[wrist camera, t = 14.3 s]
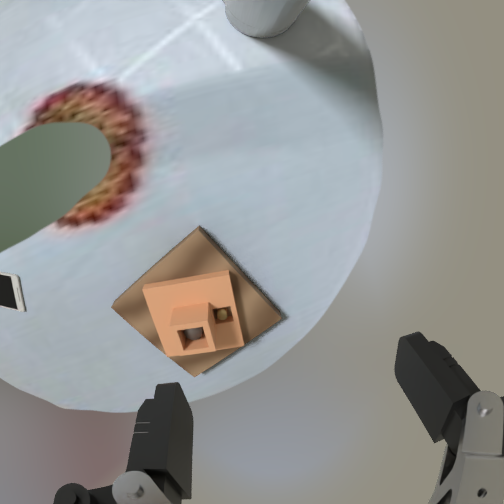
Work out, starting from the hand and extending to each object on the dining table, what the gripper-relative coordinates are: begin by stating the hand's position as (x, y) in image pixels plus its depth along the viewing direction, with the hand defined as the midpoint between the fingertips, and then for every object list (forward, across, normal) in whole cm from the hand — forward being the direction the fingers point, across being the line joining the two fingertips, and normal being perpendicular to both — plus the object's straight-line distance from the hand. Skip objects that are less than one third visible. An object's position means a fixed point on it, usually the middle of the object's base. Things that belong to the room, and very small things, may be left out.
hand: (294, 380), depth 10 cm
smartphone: (+34, +47, +6) cm, 58 cm away
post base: (+33, +9, +16) cm, 38 cm away
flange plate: (+31, +9, +16) cm, 36 cm away
